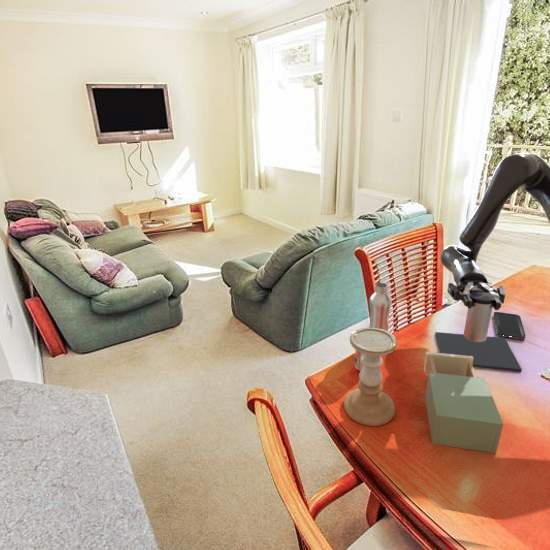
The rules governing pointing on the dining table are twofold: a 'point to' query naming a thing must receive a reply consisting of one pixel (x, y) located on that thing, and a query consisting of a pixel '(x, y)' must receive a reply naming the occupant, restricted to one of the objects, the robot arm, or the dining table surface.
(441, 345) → the mat
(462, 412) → the cabinet
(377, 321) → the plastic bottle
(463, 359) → the drawer
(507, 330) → the phone
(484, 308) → the canister
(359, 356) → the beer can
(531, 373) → the dining table surface
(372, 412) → the candle holder
